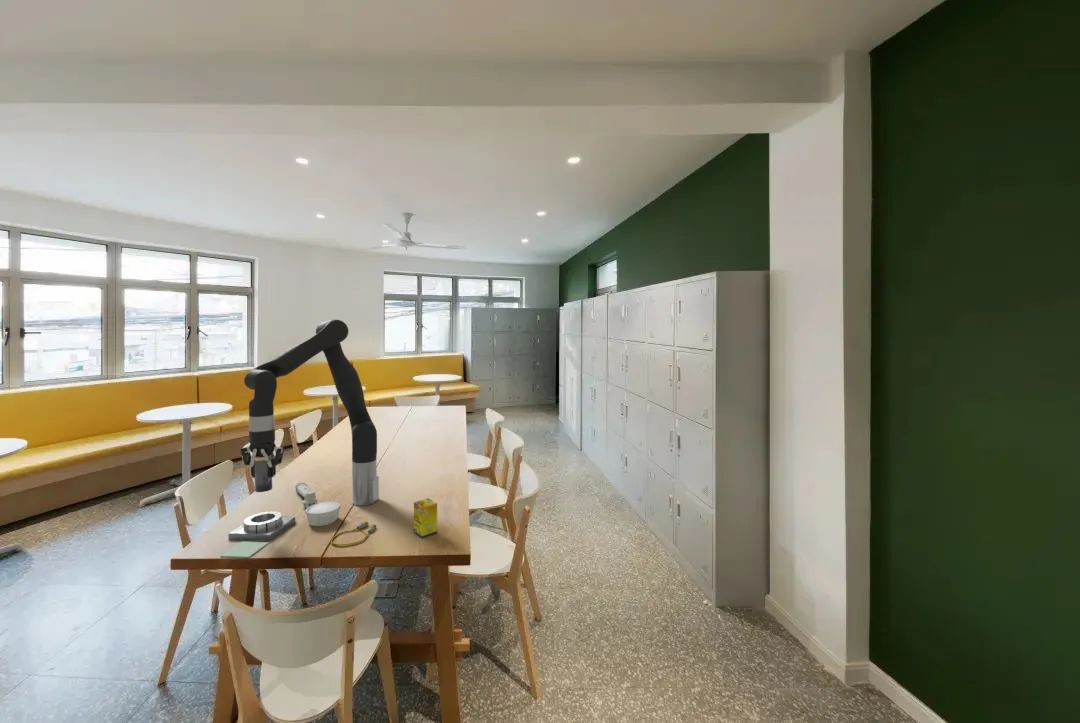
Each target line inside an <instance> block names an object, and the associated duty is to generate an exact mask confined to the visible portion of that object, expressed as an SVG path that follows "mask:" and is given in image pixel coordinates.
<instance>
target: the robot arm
mask: <svg viewBox="0 0 1080 723" xmlns="http://www.w3.org/2000/svg"><path fill="white" fill-rule="evenodd" d="M348 336H349V328H348V325H347V324H346V322H344V321H343V320H340V319H330V320H326V321H322V322H320V323H319V324H318V325H317V326H316V329H315V334H314V335H313V336H312V337H310V338H308V339H306V340H304V341H302V342H300V343H298V344H296V345H294V346H292V347H290V348H289V349H286V350H285V351H284V352H281V353H280V354H279V355H277V356H276V357H275V358H273V359H272V360H269V361H267V362H264V363H263V364H260V365H259V366H256V367H254V368H253V369H251V370H249V371H248V372H247V373H246V374H245V376H244V379H243V383H244V385H245V386H246V388H248V389H249V390H252V391H254V393H253V394H254V395H253V398H251V399H250V400H249V401H248V402H249V403H248V443H249V445H248V446H244V447H242V448H240V454H241V456H242V460H243V461H242V462H243V465H245V466H248V467H250V475H251V477H252V479H253V478H254V479H255V471H254V457H256V456H264V457H265V461H267V463H268V466H269V467H268V477H269V478H272V479H273V478H274V477H275V476H276V474H277V471H276V470H277V469H276V467H277V466H278V465H280V464H282V462H283V456H284V452H285V446H281V447H279V446H277V445H276V443H275V441H276V421H275V416H274V414H275V413H274V410H275V409H274V407H275V406H274V400H275V397H276V392H277V388H278V380H277V378H279V377H286V376H287V375H289V374H291V373H292V372H294V371H295V370H297V369H298V368H299V367H301V366H302V365H304V364H305V363H306V362H308V361H309V360H311V359H312V358H313V357H315V356H316V355H318V354H319V353H322V352H323V354H324V357H325V359H326V362H327V365H328V367H329V371H330V373H331V377H332V379H333V380H332V381H333V383H334V386H335V389H336V392H337V394H338V396H339V399H340V401H341V403H342V405H343V407H344V408H345V411H346V412H347V416H348V420H349V423H350V429H351V451H352V452H351V458H352V459H351V465H352V467H351V468H352V469H351V470H352V474H351V475H352V476H351V477H352V478H351V480H352V483H351V484H352V504H353V505H354V506H367V505H373V504H374V503H376V502H377V501H378V500H379V499H380V498H379V497H380V496H379V494H380V486H379V485H380V480H379V476H377V475H378V473H377V467H378V466H377V454H378V432H377V427H376V425H375V424H374V422H373V421H372V418H371V416H370V414H369V412H368V409H367V407H366V400H365V395H364V389H363V385H362V382H361V379H360V376H359V373H358V372H357V370H356V368H355V366H353V364H352V363H351V361H349V358H347V357H346V355H345V353H344V351H343V348H342V345H341V343H342V342H344V341H345V340H346V339H347V337H348ZM270 455H272V457H271V458H269V457H268V456H270Z"/></svg>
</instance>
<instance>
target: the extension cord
mask: <svg viewBox="0 0 1080 723" xmlns="http://www.w3.org/2000/svg"><path fill="white" fill-rule="evenodd" d="M367 526H369V522H368V521H367V520H366V521H364V522H361V523H359V524H358V525H357V526H356V528H353V529H351V530H344V531H340V532H339V533H337V534H335V535H334V536H332V538H331V540H330V542H331V543H330V544H332V545H333V546H334V547H338V548H345V547H351V545H352V546H355V544H356V545H359V544H358V543H360V544H362V543H364V542H365V541H367V539H368V536H369V535H370V534H371V533H373V532H374V531H375V530H376V528H377V525H376V524H371V525H370V526H369V528H368V530H367V533H366V532H364V531H363V530H361V529H364V528H365V527H367ZM349 532H360V533H363V534H364V535H365V536H364V537H363V539H360V540H358V541H355V542H350V543H342V544H341V543H339V544H338V543H334V542H333V541H334V539H335V538H337V537H339V536H340V535H342V534H345V533H349ZM361 542H362V543H361Z"/></svg>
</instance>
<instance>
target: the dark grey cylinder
mask: <svg viewBox="0 0 1080 723" xmlns="http://www.w3.org/2000/svg"><path fill="white" fill-rule="evenodd" d="M268 457H269V458H271V457H272V455H270V456H268ZM268 467H269V466H268V463H267V461H265V457H264V456H256V457H254V471H255V478H254V492H256V493H265V492H269V491H271V490H272V489H273V477H272V478H269V477H268Z"/></svg>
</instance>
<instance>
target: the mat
mask: <svg viewBox="0 0 1080 723" xmlns="http://www.w3.org/2000/svg"><path fill="white" fill-rule="evenodd" d="M267 545H269V542H267V541H266V542H265V541H240V542H239V543H238V544H237V543H236V545H234V546H233V547H232V548H230V549H228V550H227V551H225V552H224V553H223V554H221V555H220V558H236V559H237V558H238V559H239V558H241V559H245V558H246V559H249V558H251V557H252V556H254V555H255V554H256V553H258V552H259V551H260V550H262V549H264V548H265V547H266V546H267Z"/></svg>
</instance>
